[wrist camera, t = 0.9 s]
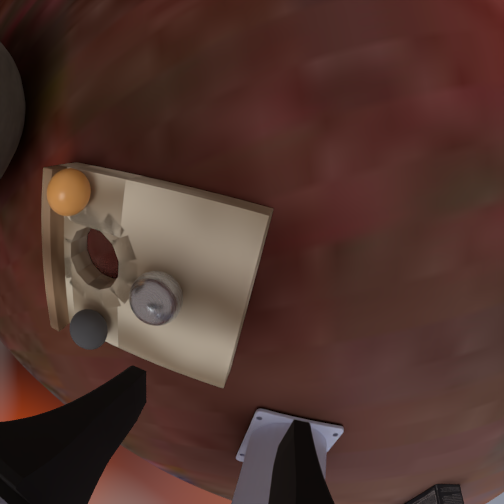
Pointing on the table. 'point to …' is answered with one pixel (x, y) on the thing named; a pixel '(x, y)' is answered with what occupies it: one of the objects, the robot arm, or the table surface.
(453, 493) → the small box
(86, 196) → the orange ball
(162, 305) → the steel ball
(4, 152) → the bowl
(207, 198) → the bearing plate
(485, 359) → the table surface
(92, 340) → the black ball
